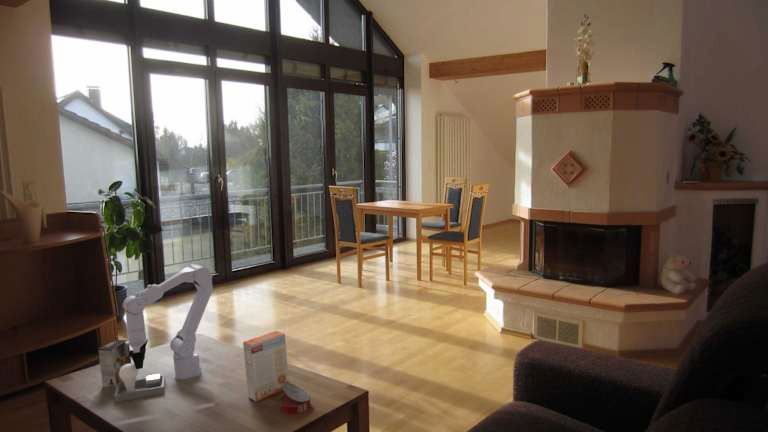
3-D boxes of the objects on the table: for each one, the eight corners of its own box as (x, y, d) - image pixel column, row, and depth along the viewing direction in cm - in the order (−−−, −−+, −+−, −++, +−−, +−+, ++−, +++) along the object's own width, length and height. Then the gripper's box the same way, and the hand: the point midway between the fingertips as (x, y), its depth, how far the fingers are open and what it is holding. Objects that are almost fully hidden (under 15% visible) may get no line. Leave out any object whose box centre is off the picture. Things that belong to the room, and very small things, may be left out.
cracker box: (280, 383, 194) (276, 329, 191) (289, 388, 190) (286, 333, 187) (246, 397, 185) (242, 340, 182) (255, 403, 180) (251, 345, 177)
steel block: (161, 384, 195) (160, 373, 194) (160, 390, 191) (159, 378, 190) (148, 387, 193) (146, 375, 193) (147, 392, 189) (146, 380, 188)
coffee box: (119, 378, 204) (114, 339, 202) (133, 379, 203) (129, 339, 201) (102, 389, 195) (97, 348, 193) (117, 390, 194) (112, 349, 192)
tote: (165, 383, 198) (164, 374, 198) (164, 395, 188) (163, 386, 188) (119, 391, 193) (118, 382, 192) (115, 405, 183) (114, 395, 182)
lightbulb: (122, 399, 185) (119, 369, 183) (120, 392, 190) (117, 363, 188) (141, 393, 188) (138, 364, 187) (138, 387, 193) (135, 359, 192)
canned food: (294, 412, 182) (300, 383, 185) (313, 418, 176) (320, 387, 179) (268, 410, 174) (276, 379, 177) (288, 415, 168) (295, 383, 171)
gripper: (126, 324, 195) (130, 359, 197) (121, 337, 181) (126, 374, 183) (146, 321, 197) (150, 355, 199) (144, 333, 184) (148, 370, 186)
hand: (140, 364), depth 191 cm, fingers open, 7 cm apart
